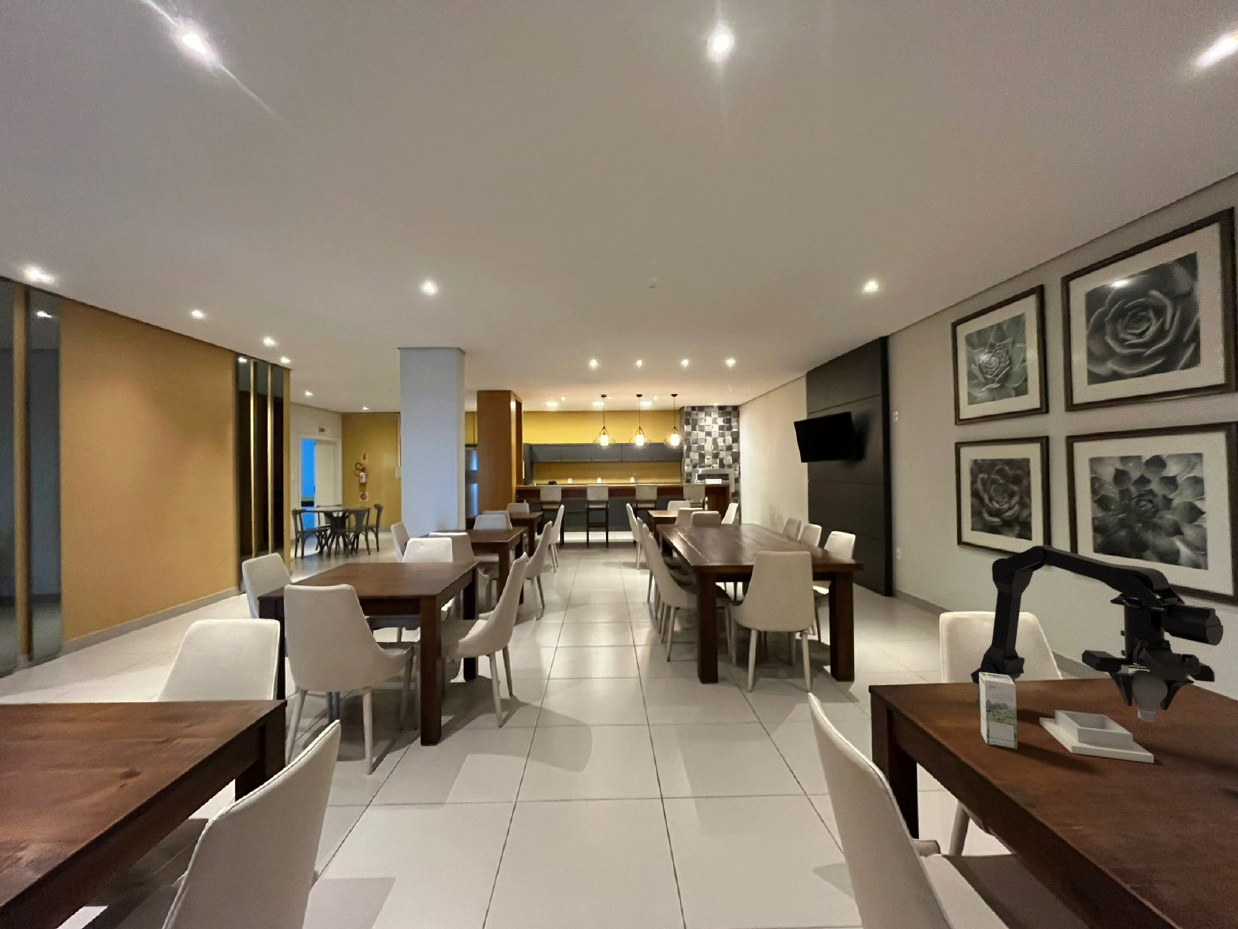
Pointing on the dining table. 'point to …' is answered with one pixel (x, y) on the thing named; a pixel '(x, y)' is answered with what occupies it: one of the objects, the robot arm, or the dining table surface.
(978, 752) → the dining table surface
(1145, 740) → the dining table surface
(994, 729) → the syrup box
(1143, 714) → the light bulb
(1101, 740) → the socket base
